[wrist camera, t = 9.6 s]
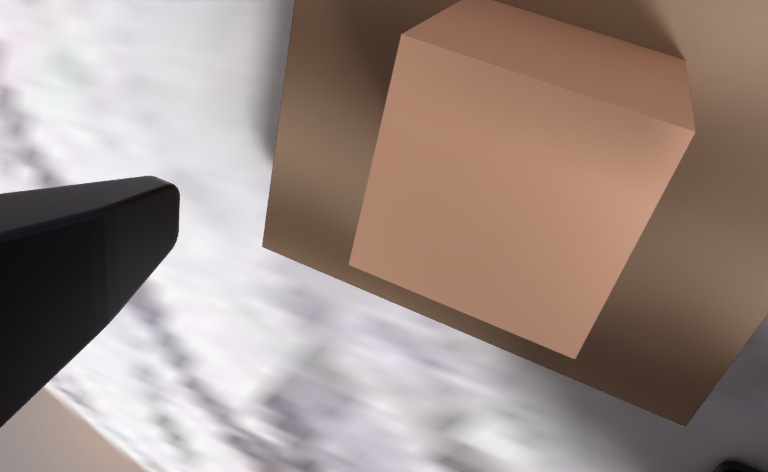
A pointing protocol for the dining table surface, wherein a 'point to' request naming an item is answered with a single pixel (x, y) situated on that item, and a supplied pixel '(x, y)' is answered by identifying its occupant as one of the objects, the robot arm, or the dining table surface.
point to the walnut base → (660, 236)
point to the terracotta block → (519, 167)
